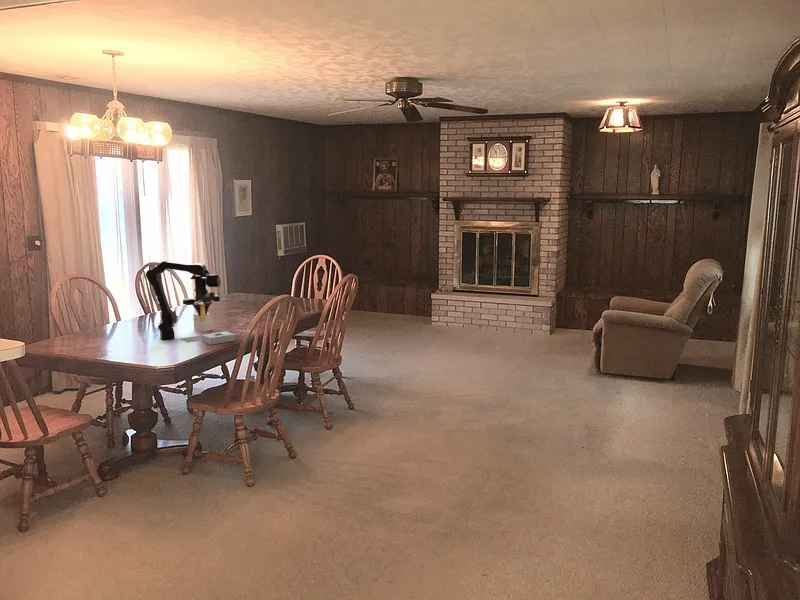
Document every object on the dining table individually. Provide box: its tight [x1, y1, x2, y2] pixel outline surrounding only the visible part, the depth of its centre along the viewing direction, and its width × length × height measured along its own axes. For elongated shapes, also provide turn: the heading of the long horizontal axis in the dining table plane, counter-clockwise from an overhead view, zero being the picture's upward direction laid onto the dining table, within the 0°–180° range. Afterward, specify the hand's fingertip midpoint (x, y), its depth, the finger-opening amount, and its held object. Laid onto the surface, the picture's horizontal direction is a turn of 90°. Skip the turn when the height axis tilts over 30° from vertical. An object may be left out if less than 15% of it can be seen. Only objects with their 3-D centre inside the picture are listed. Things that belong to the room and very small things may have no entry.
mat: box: [179, 334, 203, 343], centre depth 360 cm, size 14×12×1 cm
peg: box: [199, 303, 206, 321], centre depth 357 cm, size 3×3×9 cm
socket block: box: [201, 330, 236, 345], centre depth 355 cm, size 14×10×4 cm
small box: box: [192, 312, 212, 333], centre depth 381 cm, size 8×6×10 cm
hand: (202, 315), depth 357 cm, fingers closed on peg, 3 cm apart
